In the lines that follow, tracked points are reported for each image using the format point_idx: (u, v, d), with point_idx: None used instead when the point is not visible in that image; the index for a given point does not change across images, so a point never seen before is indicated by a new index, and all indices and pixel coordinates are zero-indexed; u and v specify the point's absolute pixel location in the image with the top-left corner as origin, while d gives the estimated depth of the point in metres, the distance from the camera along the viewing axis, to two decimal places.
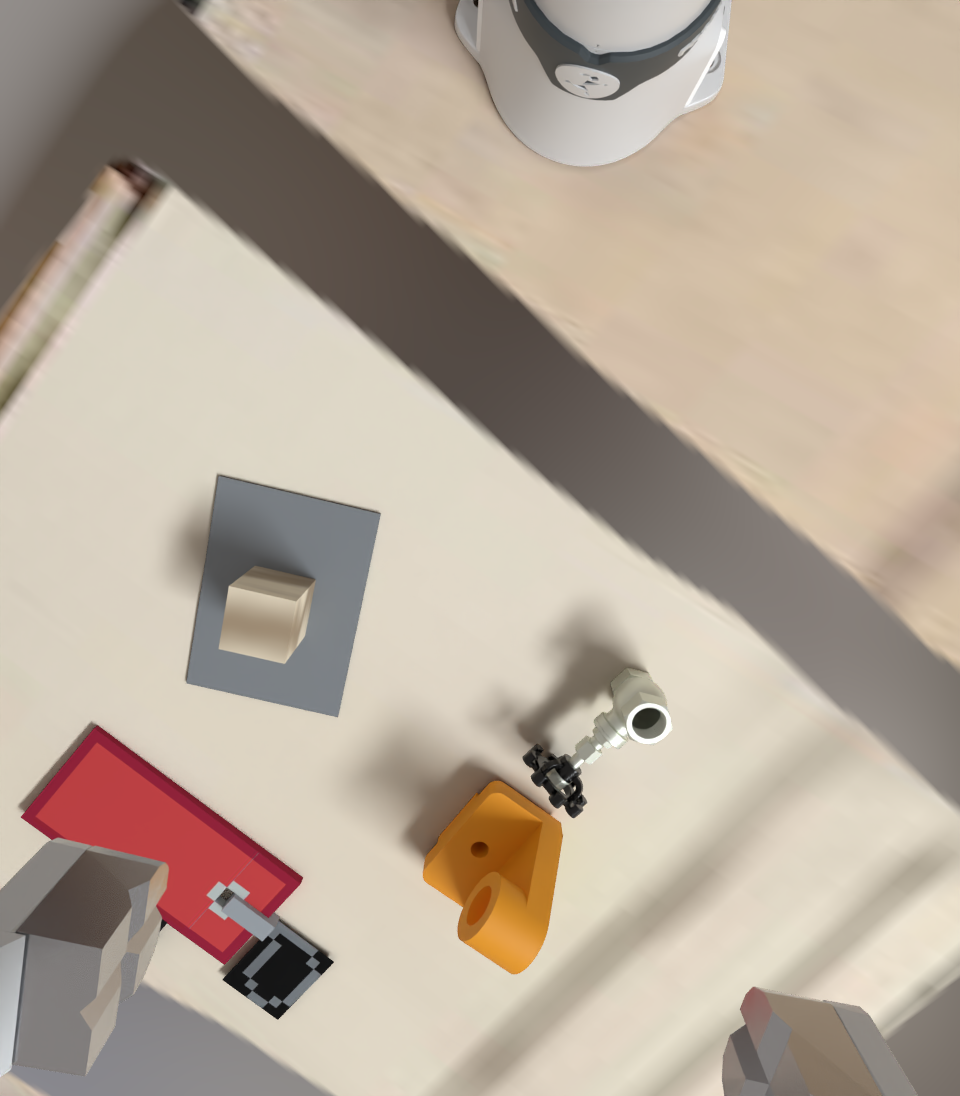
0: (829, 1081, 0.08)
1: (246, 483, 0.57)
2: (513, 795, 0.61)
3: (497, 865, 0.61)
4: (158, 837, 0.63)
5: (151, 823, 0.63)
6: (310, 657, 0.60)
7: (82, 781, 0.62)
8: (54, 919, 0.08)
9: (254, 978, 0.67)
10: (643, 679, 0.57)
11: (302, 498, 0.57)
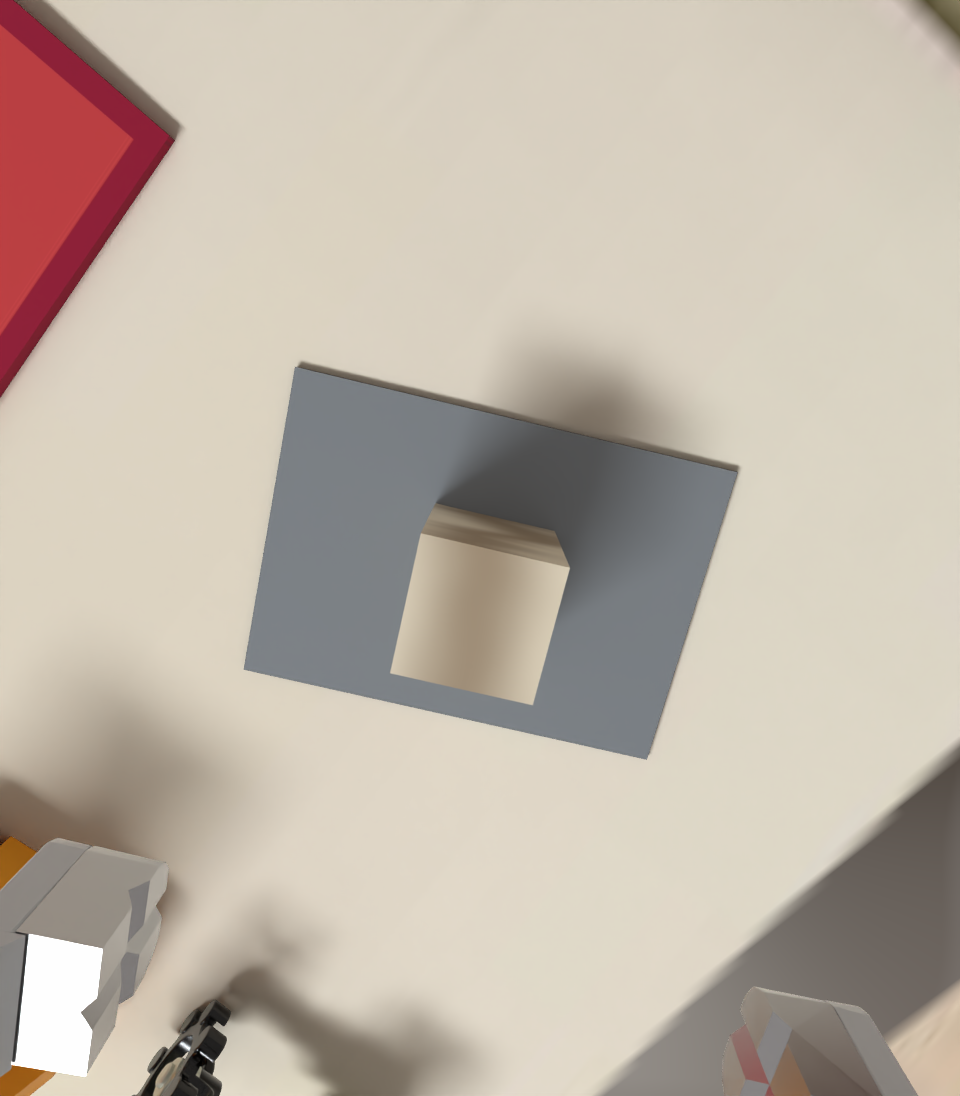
0: (829, 1081, 0.08)
1: (718, 524, 0.29)
2: None
3: None
4: None
5: None
6: (366, 625, 0.30)
7: (25, 89, 0.26)
8: (54, 920, 0.08)
9: None
10: None
11: (683, 627, 0.30)
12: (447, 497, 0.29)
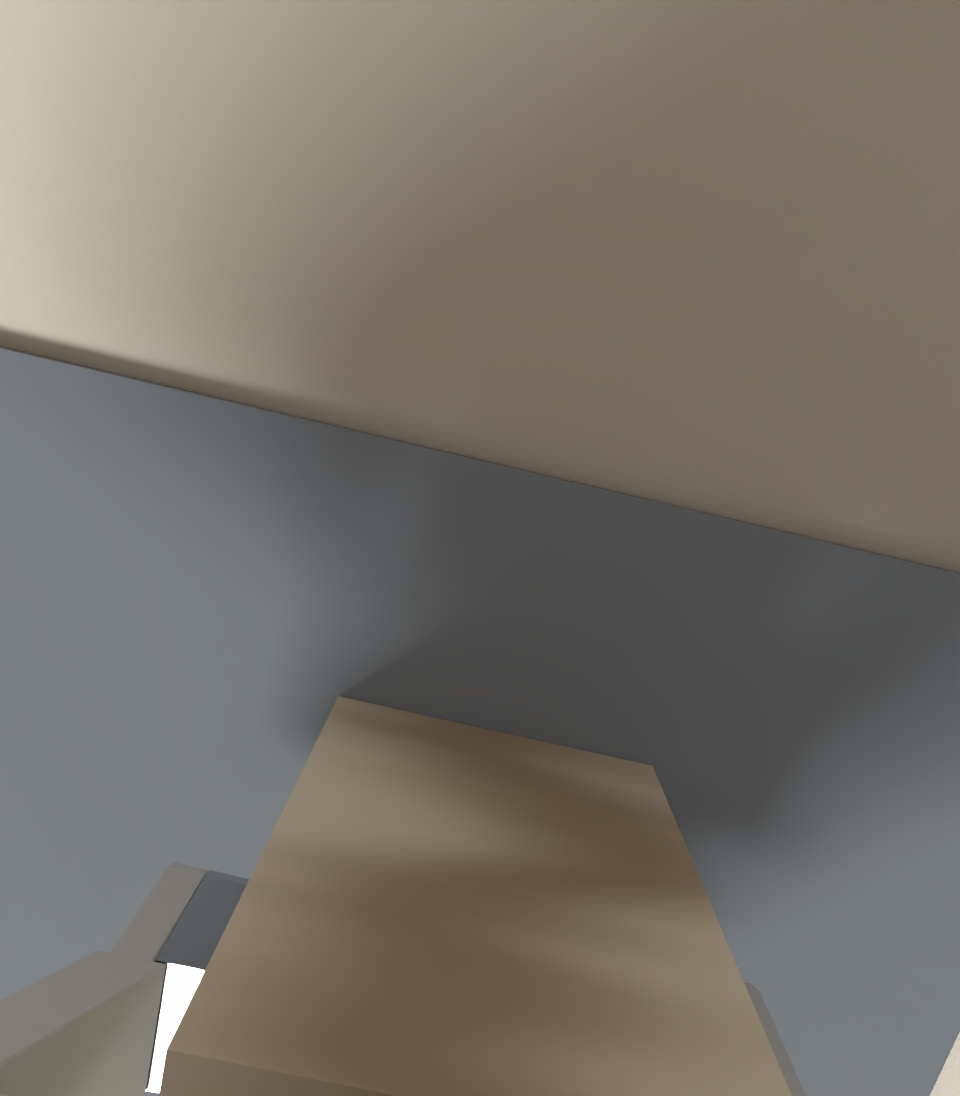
0: None
1: None
2: None
3: None
4: None
5: None
6: None
7: None
8: (188, 947, 0.08)
9: None
10: None
11: None
12: (370, 681, 0.11)
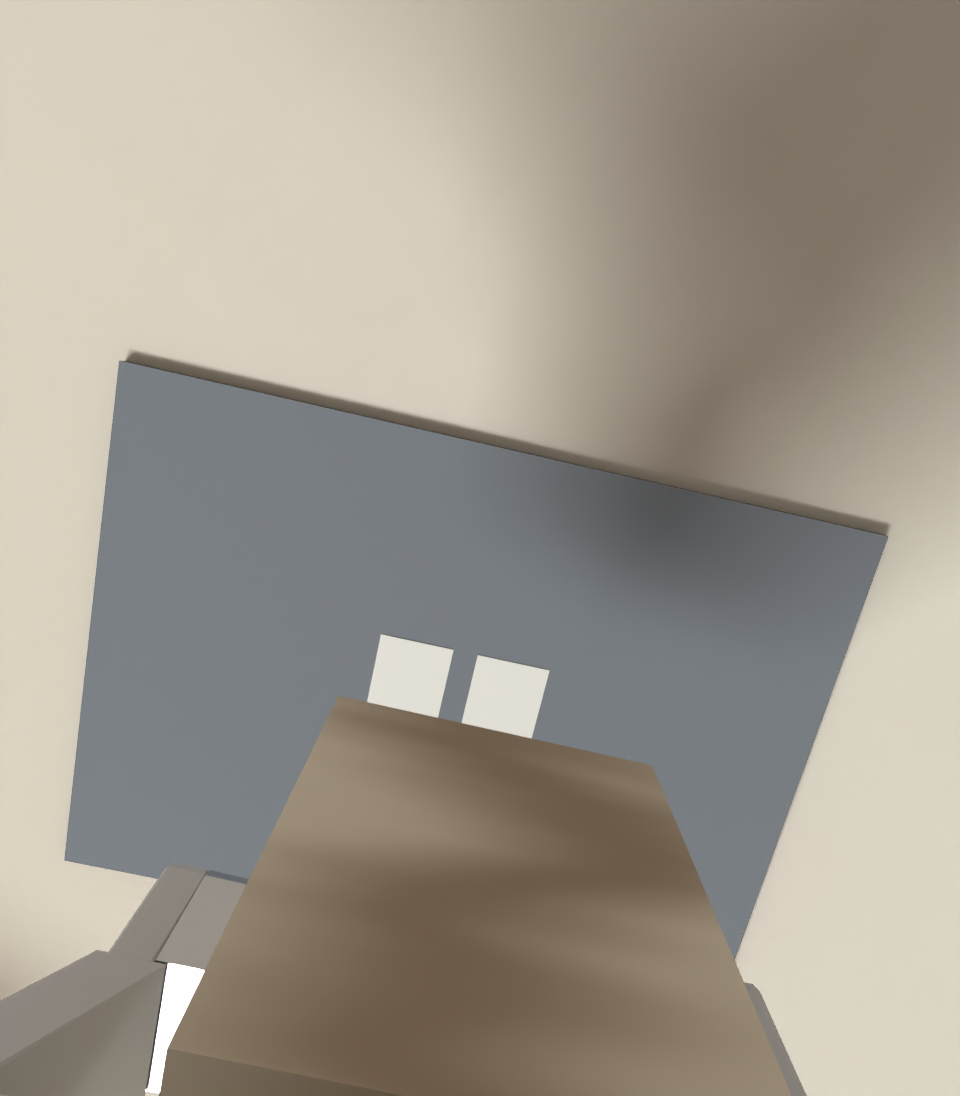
0: None
1: (852, 623, 0.17)
2: None
3: None
4: None
5: None
6: (263, 789, 0.18)
7: None
8: (188, 947, 0.08)
9: None
10: None
11: (788, 788, 0.18)
12: (393, 582, 0.17)
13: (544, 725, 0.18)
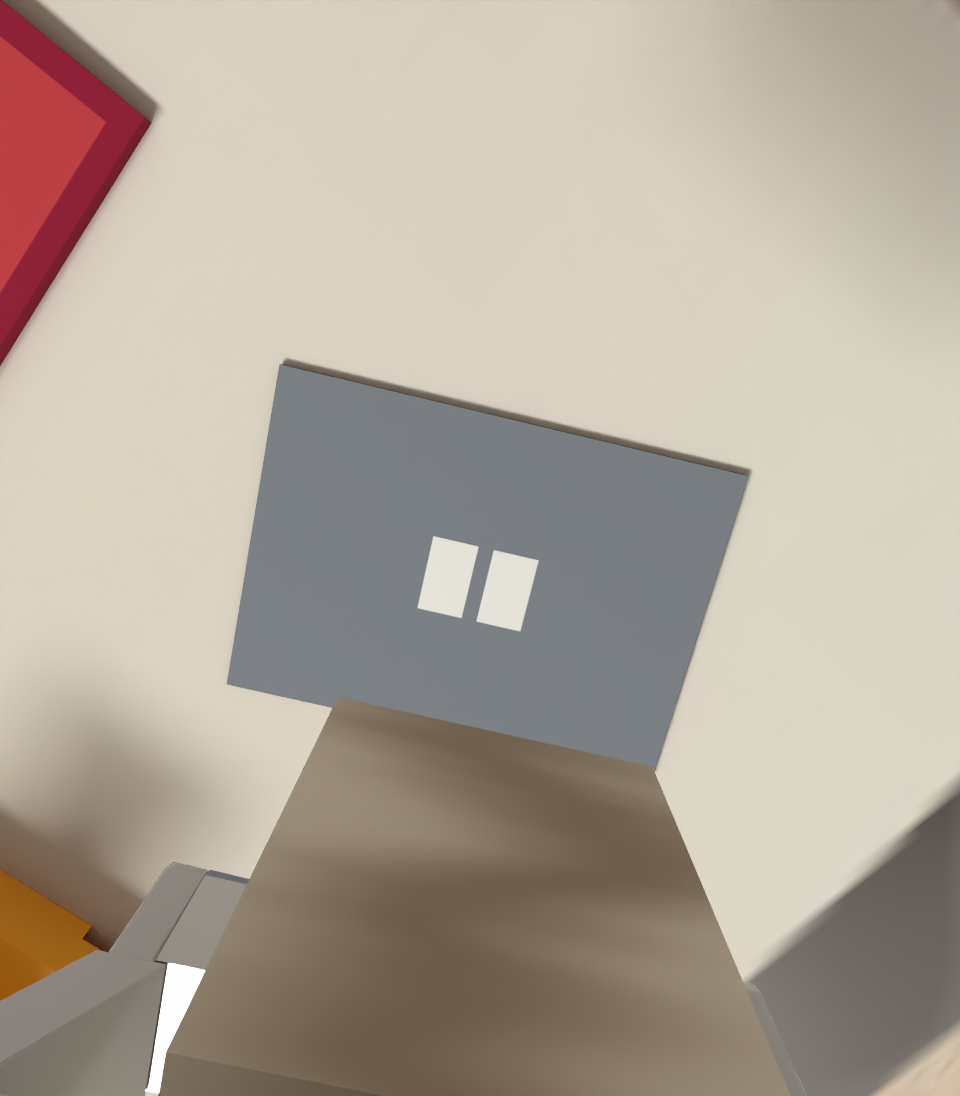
0: None
1: (728, 531, 0.28)
2: None
3: None
4: None
5: None
6: (355, 637, 0.29)
7: None
8: (189, 948, 0.08)
9: None
10: None
11: (690, 639, 0.29)
12: (441, 502, 0.27)
13: (535, 596, 0.28)
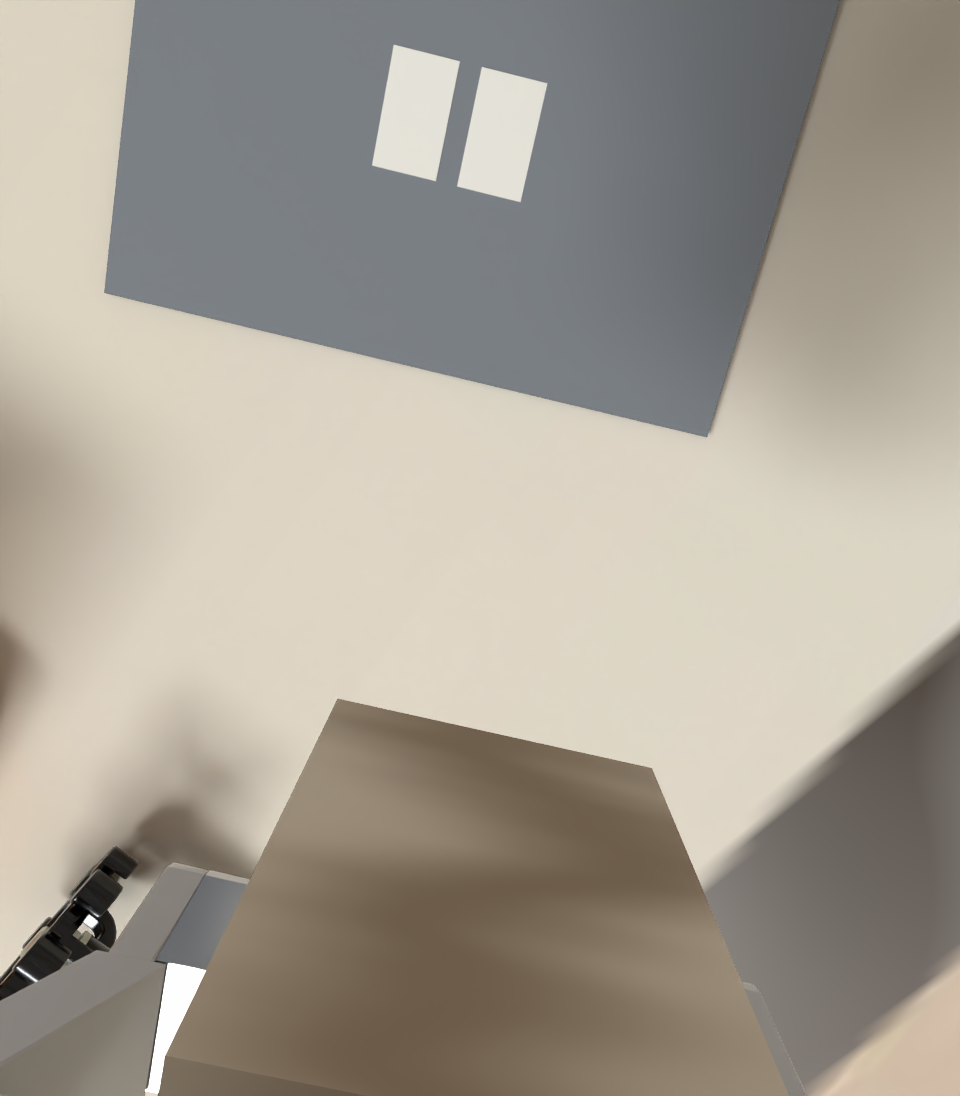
0: None
1: (826, 32, 0.19)
2: None
3: None
4: None
5: None
6: (285, 214, 0.20)
7: None
8: (188, 948, 0.08)
9: None
10: None
11: (767, 212, 0.20)
12: None
13: (542, 144, 0.20)
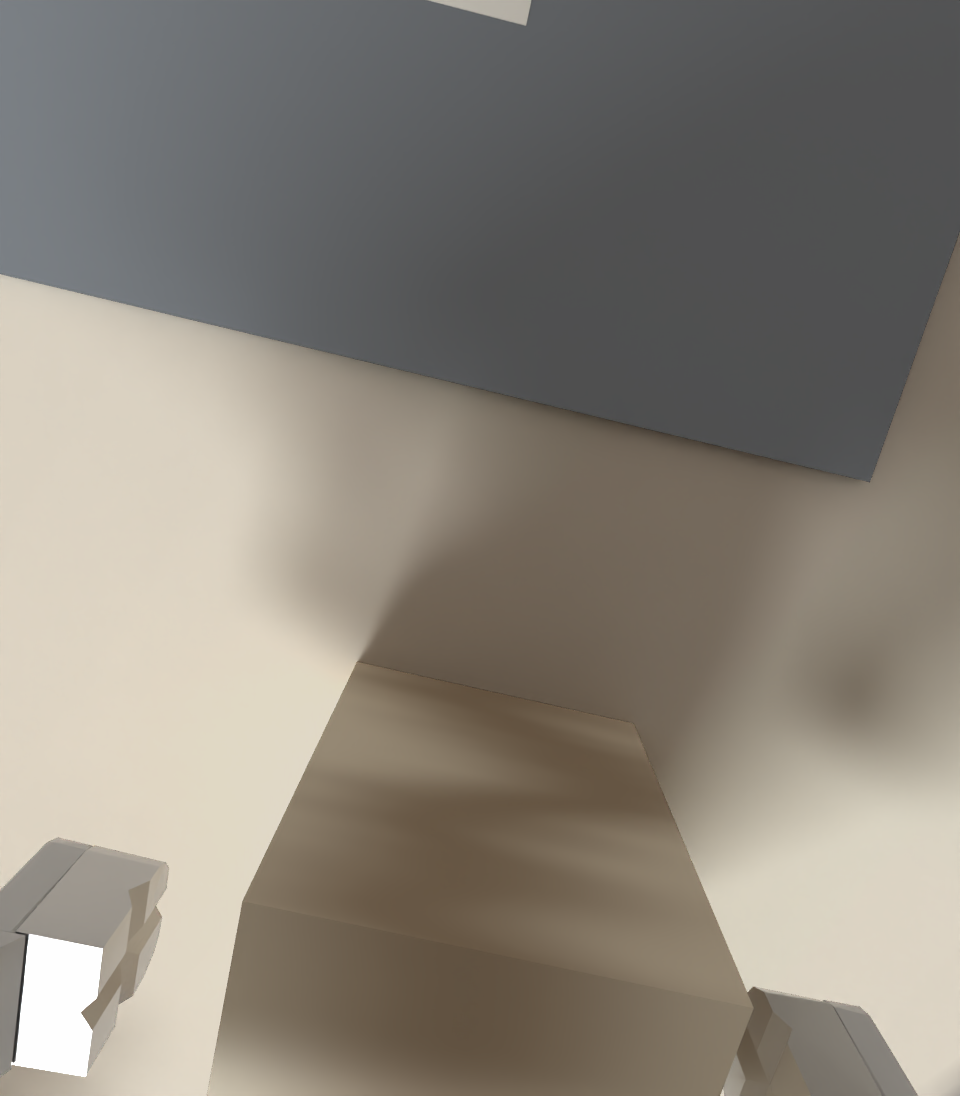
0: (829, 1081, 0.08)
1: None
2: None
3: None
4: None
5: None
6: (64, 52, 0.10)
7: None
8: (54, 919, 0.08)
9: None
10: None
11: None
12: None
13: None
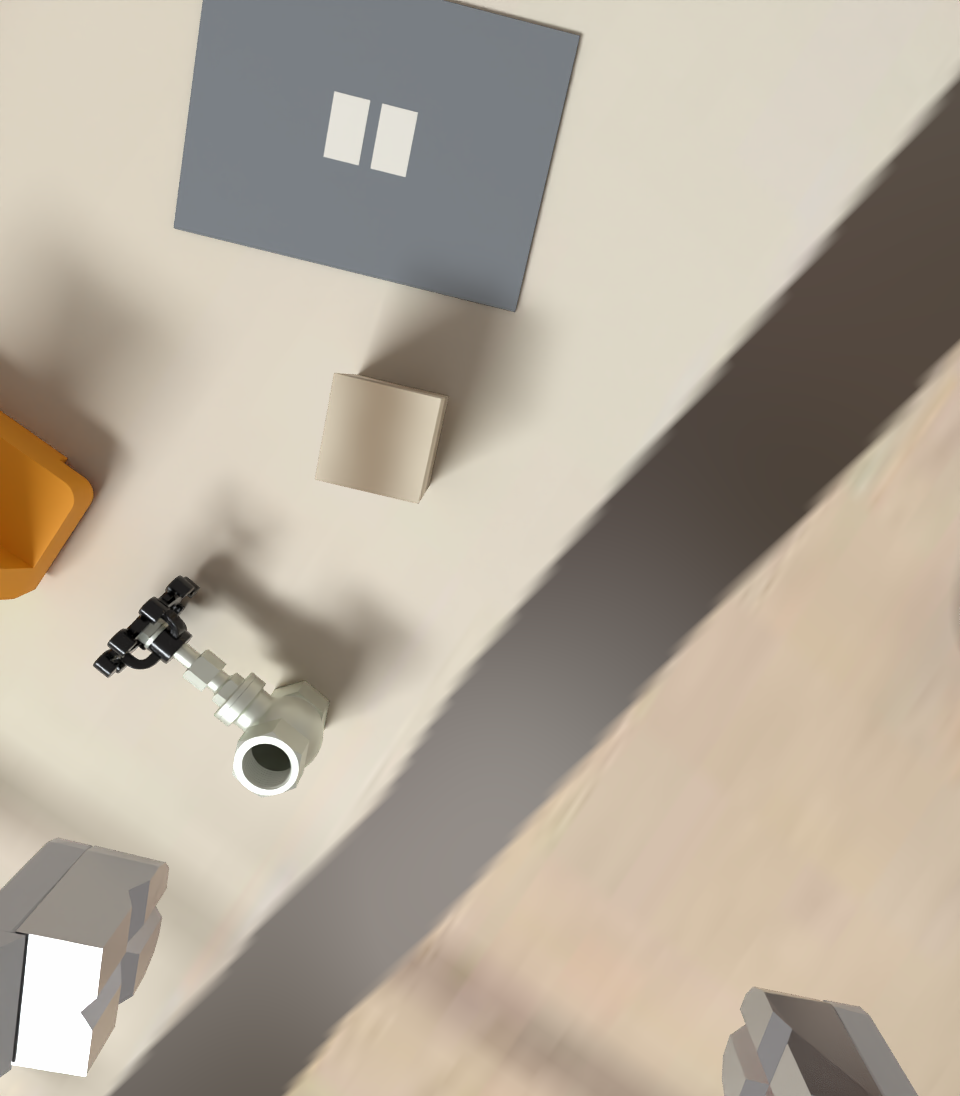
0: (829, 1081, 0.08)
1: (566, 86, 0.35)
2: (72, 520, 0.39)
3: None
4: None
5: None
6: (275, 183, 0.36)
7: None
8: (54, 920, 0.08)
9: None
10: (322, 737, 0.40)
11: (540, 183, 0.36)
12: (340, 61, 0.35)
13: (416, 145, 0.36)
